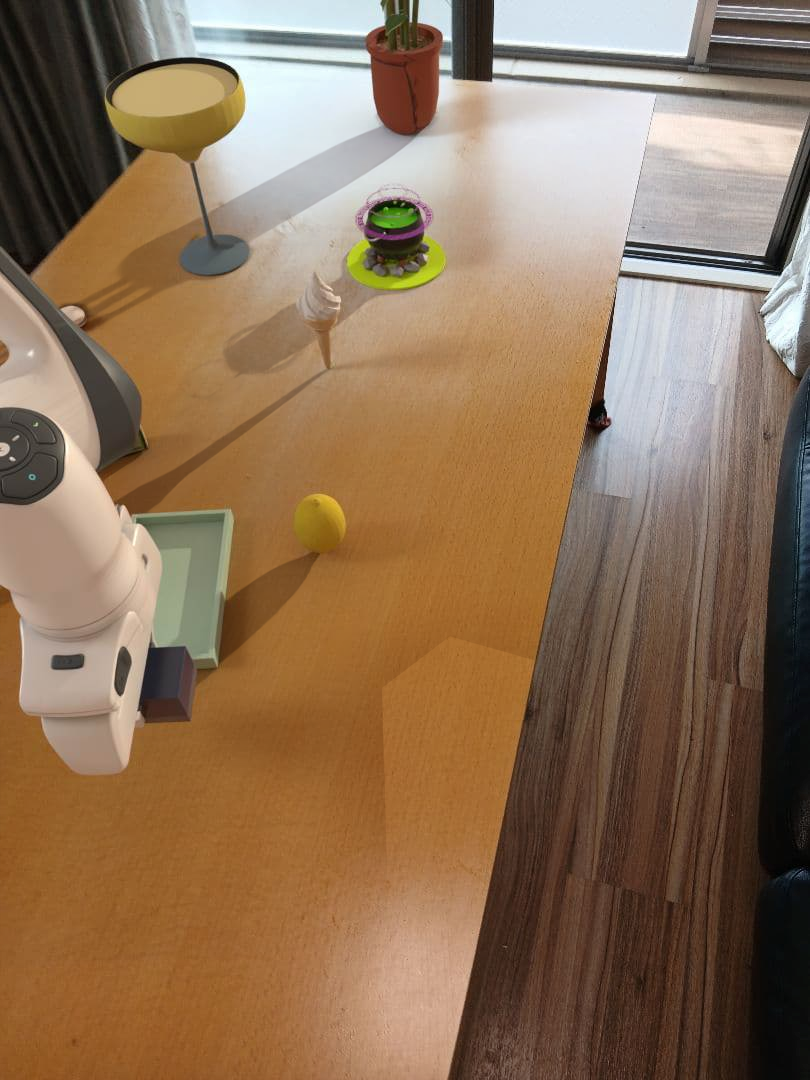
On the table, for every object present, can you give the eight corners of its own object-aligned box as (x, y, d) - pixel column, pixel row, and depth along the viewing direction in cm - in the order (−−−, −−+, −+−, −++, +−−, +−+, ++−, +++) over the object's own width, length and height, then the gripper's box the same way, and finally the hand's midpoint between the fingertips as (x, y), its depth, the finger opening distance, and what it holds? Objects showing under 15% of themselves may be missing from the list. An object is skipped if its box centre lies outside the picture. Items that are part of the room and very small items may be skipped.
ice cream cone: (356, 361, 110) (345, 263, 98) (336, 387, 107) (323, 289, 95) (319, 350, 111) (305, 253, 99) (299, 376, 108) (282, 278, 96)
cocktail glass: (147, 293, 121) (89, 121, 101) (165, 226, 132) (116, 59, 112) (269, 287, 120) (235, 114, 101) (276, 220, 132) (247, 52, 112)
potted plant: (366, 114, 153) (349, -119, 125) (447, 104, 154) (448, -129, 126) (381, 160, 142) (366, -84, 114) (468, 149, 143) (474, -95, 116)
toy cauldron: (367, 226, 129) (362, 158, 121) (458, 241, 126) (459, 172, 117) (331, 280, 121) (323, 211, 112) (427, 298, 118) (426, 228, 109)
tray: (106, 674, 82) (99, 664, 80) (136, 525, 93) (131, 514, 92) (217, 668, 82) (213, 658, 80) (234, 519, 93) (230, 508, 92)
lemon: (289, 545, 91) (278, 498, 84) (329, 519, 93) (321, 472, 87) (318, 575, 88) (309, 529, 82) (358, 548, 90) (352, 501, 84)
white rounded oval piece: (94, 322, 117) (88, 308, 115) (68, 342, 114) (61, 327, 112) (73, 313, 118) (67, 298, 116) (47, 332, 116) (40, 317, 114)
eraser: (98, 726, 71) (81, 702, 67) (109, 674, 74) (93, 649, 70) (190, 721, 71) (178, 698, 67) (197, 670, 74) (185, 645, 70)
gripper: (76, 493, 66) (126, 589, 77) (11, 729, 54) (82, 803, 65) (154, 490, 66) (192, 586, 77) (107, 724, 54) (162, 799, 65)
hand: (142, 687), depth 71 cm, fingers closed on eraser, 5 cm apart
